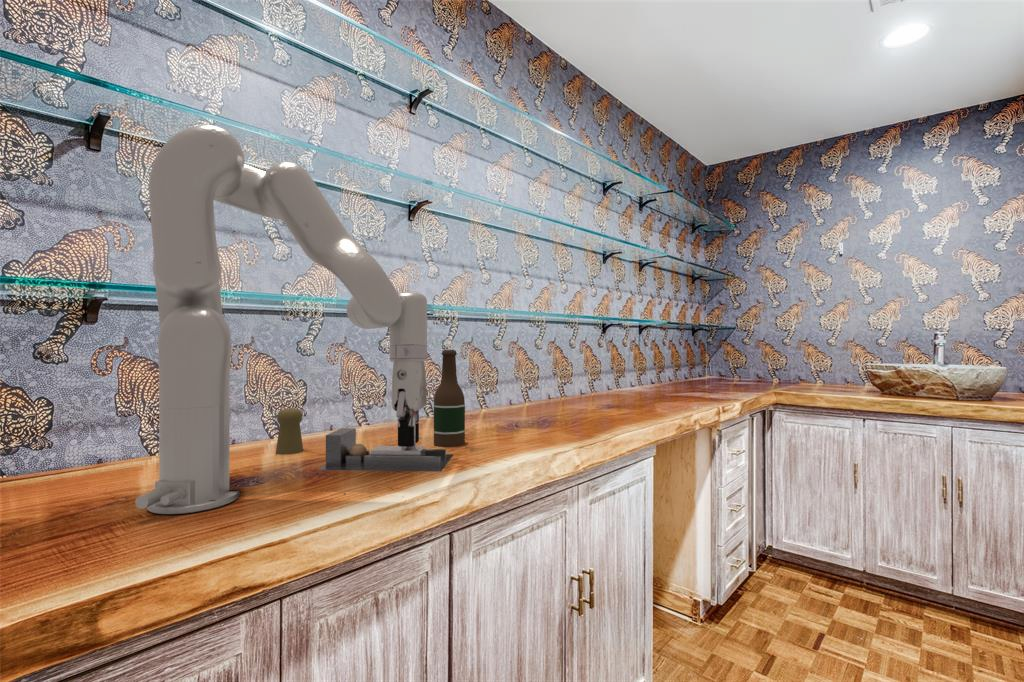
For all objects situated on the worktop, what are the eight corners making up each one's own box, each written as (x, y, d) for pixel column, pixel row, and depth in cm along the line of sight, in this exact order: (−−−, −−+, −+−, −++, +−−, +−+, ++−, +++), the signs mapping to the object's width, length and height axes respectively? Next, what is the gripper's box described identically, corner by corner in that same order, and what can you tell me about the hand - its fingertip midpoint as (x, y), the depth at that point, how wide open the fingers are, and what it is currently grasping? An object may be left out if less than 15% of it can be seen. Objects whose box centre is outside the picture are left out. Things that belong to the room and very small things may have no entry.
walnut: (363, 463, 98) (363, 445, 98) (346, 463, 98) (346, 445, 98) (369, 459, 101) (369, 442, 101) (352, 459, 101) (352, 442, 101)
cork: (296, 461, 105) (296, 410, 105) (269, 461, 106) (269, 410, 106) (309, 455, 111) (309, 407, 112) (282, 455, 112) (283, 407, 112)
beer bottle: (471, 451, 116) (471, 349, 116) (441, 455, 111) (441, 350, 111) (456, 445, 122) (455, 349, 122) (427, 449, 118) (427, 349, 118)
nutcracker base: (441, 479, 92) (441, 439, 92) (316, 477, 93) (316, 438, 93) (453, 461, 106) (453, 426, 106) (345, 459, 107) (345, 425, 107)
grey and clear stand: (420, 463, 97) (420, 413, 97) (370, 462, 97) (371, 412, 97) (425, 457, 101) (425, 410, 101) (378, 457, 102) (378, 409, 102)
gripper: (416, 354, 91) (416, 453, 91) (435, 353, 107) (435, 436, 107) (377, 354, 91) (377, 453, 91) (401, 353, 107) (401, 436, 107)
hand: (408, 443), depth 99 cm, fingers closed on grey and clear stand, 2 cm apart
